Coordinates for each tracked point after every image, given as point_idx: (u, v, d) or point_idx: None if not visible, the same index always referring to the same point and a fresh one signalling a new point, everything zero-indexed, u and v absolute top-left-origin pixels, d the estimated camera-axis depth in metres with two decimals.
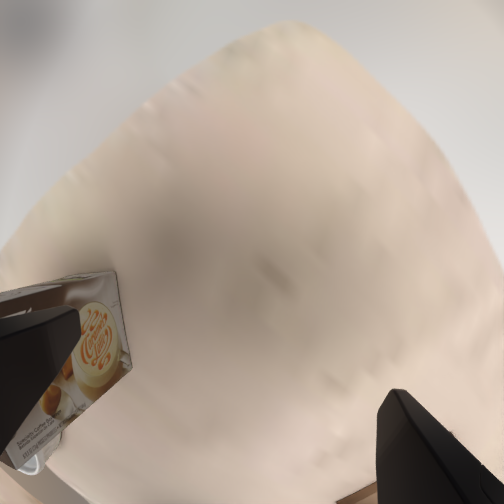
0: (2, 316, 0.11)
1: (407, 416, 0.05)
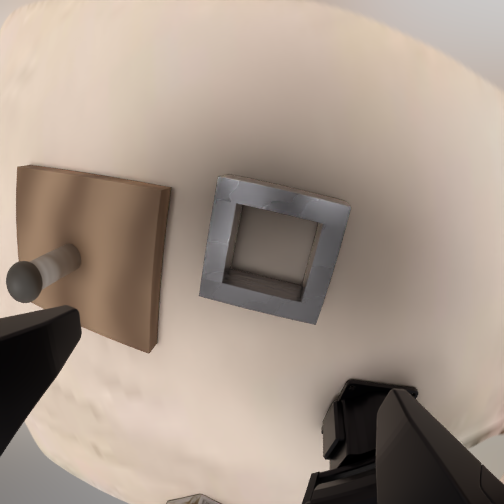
0: None
1: (407, 416, 0.05)
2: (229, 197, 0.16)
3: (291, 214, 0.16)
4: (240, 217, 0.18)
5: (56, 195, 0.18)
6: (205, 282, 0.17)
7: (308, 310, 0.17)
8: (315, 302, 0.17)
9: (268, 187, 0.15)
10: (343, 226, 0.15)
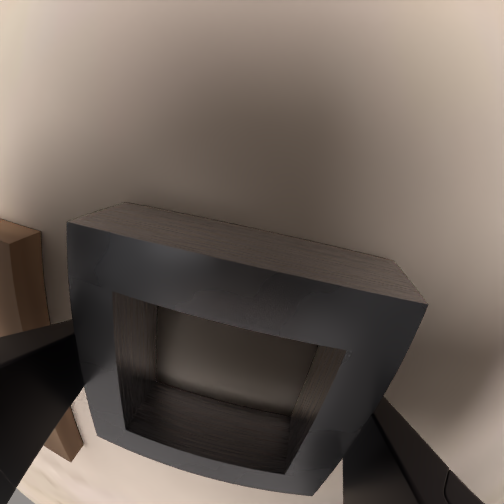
0: None
1: (371, 414, 0.06)
2: (95, 275, 0.06)
3: (256, 328, 0.05)
4: None
5: None
6: (99, 422, 0.07)
7: (299, 483, 0.07)
8: (313, 475, 0.07)
9: (185, 251, 0.05)
10: (401, 354, 0.05)
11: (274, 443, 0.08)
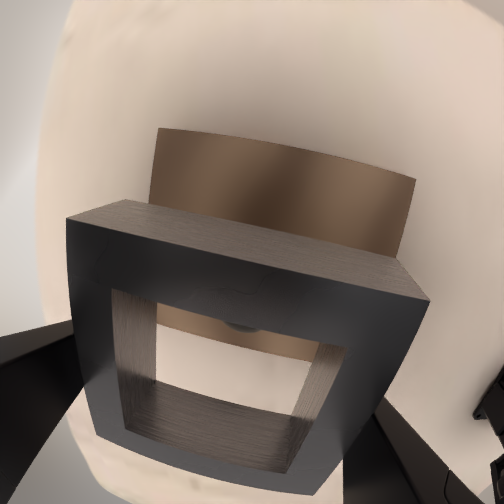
0: None
1: None
2: (94, 272, 0.06)
3: (256, 325, 0.05)
4: None
5: (247, 171, 0.15)
6: (98, 421, 0.07)
7: (299, 482, 0.07)
8: (314, 474, 0.06)
9: (185, 247, 0.05)
10: (403, 351, 0.05)
11: (274, 442, 0.08)
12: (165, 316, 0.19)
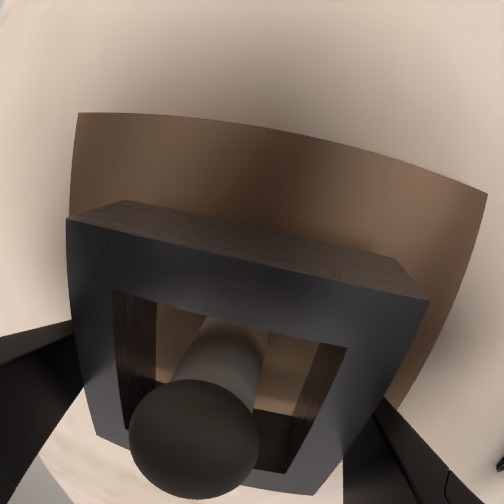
0: None
1: None
2: (94, 272, 0.06)
3: (256, 325, 0.05)
4: None
5: (209, 177, 0.09)
6: (98, 421, 0.07)
7: (299, 482, 0.07)
8: (314, 474, 0.06)
9: (185, 247, 0.05)
10: (403, 351, 0.05)
11: (274, 442, 0.08)
12: None
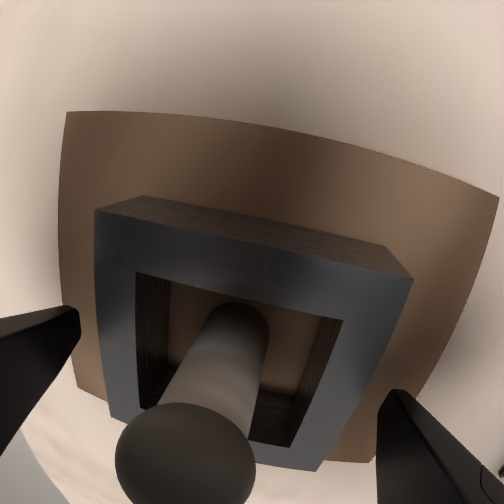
0: None
1: (407, 416, 0.05)
2: (120, 257, 0.06)
3: (264, 300, 0.06)
4: (171, 281, 0.09)
5: (202, 179, 0.08)
6: (114, 401, 0.08)
7: (303, 457, 0.08)
8: (316, 448, 0.07)
9: (204, 233, 0.06)
10: (392, 324, 0.06)
11: (279, 419, 0.09)
12: (103, 390, 0.11)
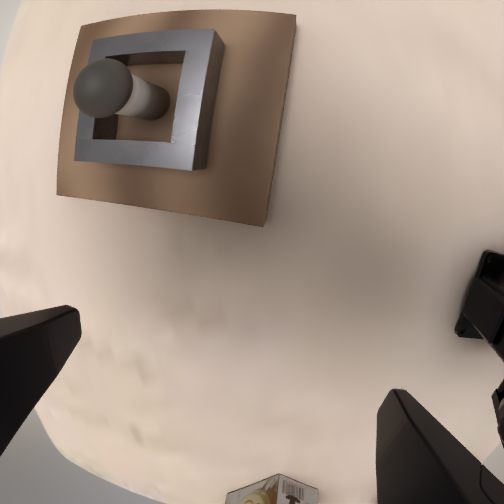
0: None
1: (407, 416, 0.05)
2: (100, 53, 0.12)
3: (153, 50, 0.12)
4: None
5: None
6: (78, 143, 0.14)
7: (180, 152, 0.13)
8: (186, 139, 0.13)
9: (133, 34, 0.12)
10: (208, 48, 0.12)
11: None
12: (73, 186, 0.17)
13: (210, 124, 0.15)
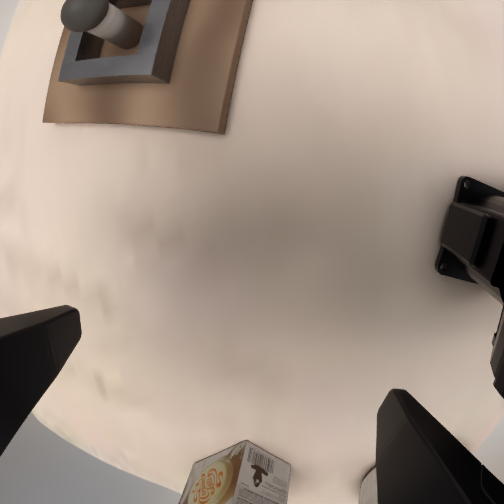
0: None
1: (407, 416, 0.05)
2: None
3: None
4: None
5: None
6: (63, 66, 0.13)
7: (143, 60, 0.13)
8: (149, 50, 0.13)
9: None
10: None
11: None
12: (57, 112, 0.17)
13: (175, 46, 0.14)
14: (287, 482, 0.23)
